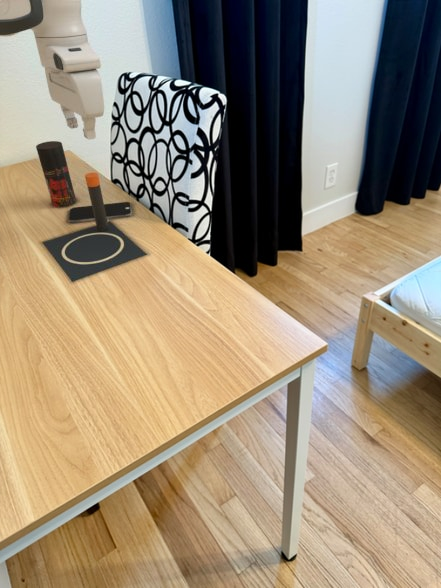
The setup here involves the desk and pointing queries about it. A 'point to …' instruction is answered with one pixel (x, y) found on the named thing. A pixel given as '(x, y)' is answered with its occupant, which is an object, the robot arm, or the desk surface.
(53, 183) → the deodorant
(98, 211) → the marker
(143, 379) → the desk surface
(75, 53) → the robot arm
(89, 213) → the smartphone
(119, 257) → the desk pad
